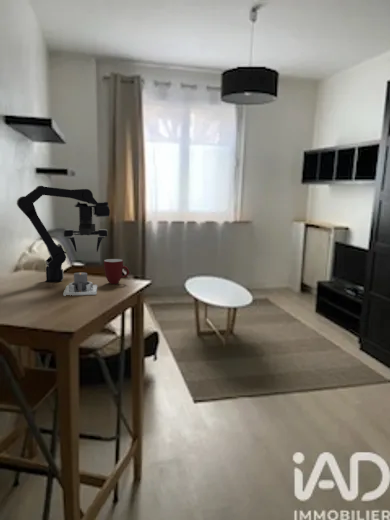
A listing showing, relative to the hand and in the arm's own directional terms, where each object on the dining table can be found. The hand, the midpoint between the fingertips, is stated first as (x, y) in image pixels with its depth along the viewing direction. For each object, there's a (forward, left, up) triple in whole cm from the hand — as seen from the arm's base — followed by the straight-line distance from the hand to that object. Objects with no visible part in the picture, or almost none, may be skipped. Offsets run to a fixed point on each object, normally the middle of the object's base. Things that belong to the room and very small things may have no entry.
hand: (86, 251), depth 183 cm
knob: (-1, -26, -11) cm, 28 cm away
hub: (-1, -26, -12) cm, 29 cm away
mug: (+13, -13, -12) cm, 22 cm away
